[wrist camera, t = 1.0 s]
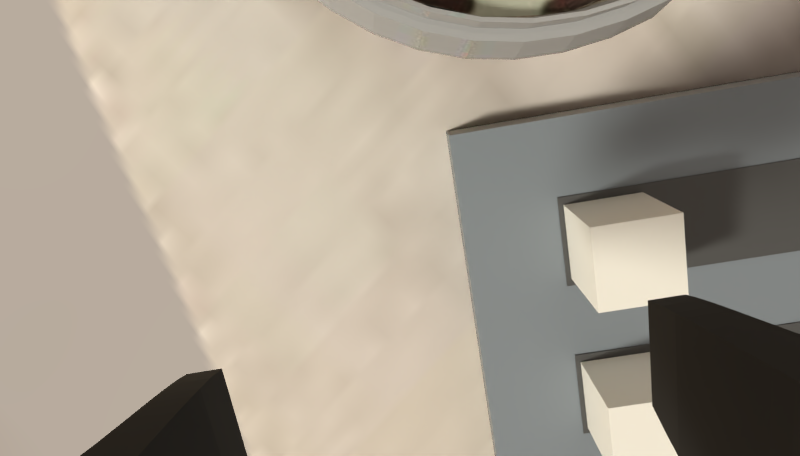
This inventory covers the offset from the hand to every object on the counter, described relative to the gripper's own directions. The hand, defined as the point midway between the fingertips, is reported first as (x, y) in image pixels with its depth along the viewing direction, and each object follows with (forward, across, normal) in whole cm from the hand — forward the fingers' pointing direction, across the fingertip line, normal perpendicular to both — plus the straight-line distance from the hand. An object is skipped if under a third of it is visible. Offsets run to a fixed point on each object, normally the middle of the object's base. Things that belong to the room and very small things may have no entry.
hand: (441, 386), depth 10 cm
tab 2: (+9, -6, +7) cm, 13 cm away
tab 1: (+10, -6, +2) cm, 11 cm away
